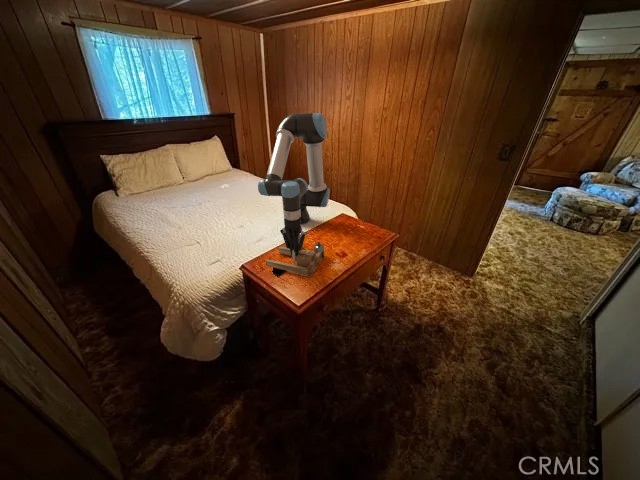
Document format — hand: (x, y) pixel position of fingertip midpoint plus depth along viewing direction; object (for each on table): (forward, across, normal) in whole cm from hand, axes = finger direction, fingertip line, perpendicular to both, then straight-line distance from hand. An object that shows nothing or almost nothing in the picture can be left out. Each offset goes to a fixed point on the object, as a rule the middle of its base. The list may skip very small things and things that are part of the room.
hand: (295, 260), depth 124 cm
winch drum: (+2, +9, +10) cm, 14 cm away
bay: (+2, -1, 0) cm, 2 cm away
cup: (+2, -7, +12) cm, 14 cm away
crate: (+2, +6, 0) cm, 6 cm away
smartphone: (+3, -9, -6) cm, 11 cm away
